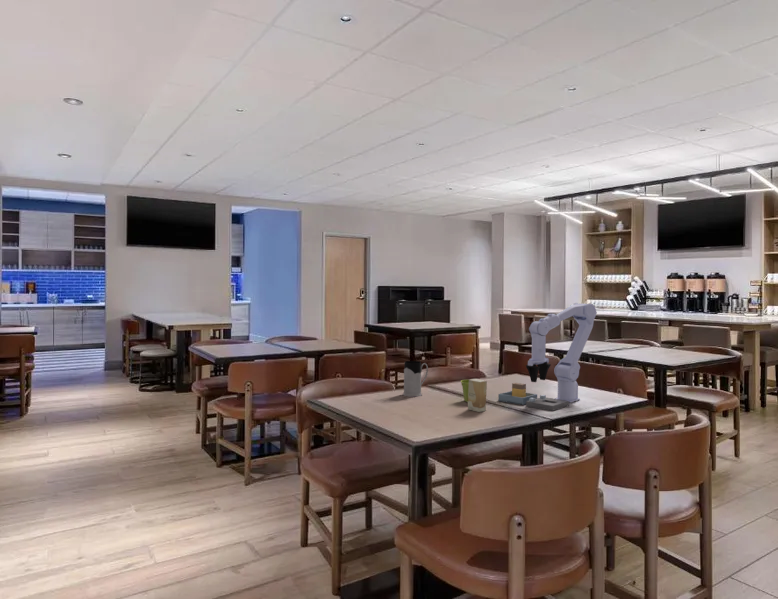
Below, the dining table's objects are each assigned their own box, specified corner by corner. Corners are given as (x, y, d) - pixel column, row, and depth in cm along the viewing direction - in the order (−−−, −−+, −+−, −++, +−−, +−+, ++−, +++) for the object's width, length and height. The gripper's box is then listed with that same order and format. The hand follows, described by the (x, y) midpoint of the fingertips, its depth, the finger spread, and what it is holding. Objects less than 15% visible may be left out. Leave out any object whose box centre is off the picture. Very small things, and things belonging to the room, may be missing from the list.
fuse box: (542, 401, 238) (542, 394, 238) (568, 405, 229) (568, 398, 229) (526, 406, 228) (526, 398, 228) (552, 410, 219) (552, 402, 219)
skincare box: (467, 409, 220) (467, 379, 220) (474, 408, 223) (474, 378, 223) (479, 412, 215) (479, 381, 215) (486, 410, 218) (487, 380, 218)
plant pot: (472, 404, 230) (472, 383, 230) (455, 400, 238) (456, 380, 238) (486, 401, 236) (486, 381, 236) (470, 398, 244) (470, 378, 243)
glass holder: (398, 394, 251) (399, 361, 250) (420, 390, 260) (420, 359, 260) (412, 397, 244) (412, 363, 244) (434, 393, 254) (434, 361, 253)
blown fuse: (515, 398, 241) (515, 382, 240) (525, 400, 237) (525, 384, 237) (511, 399, 238) (512, 383, 238) (522, 401, 235) (522, 384, 235)
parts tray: (512, 397, 247) (513, 390, 247) (537, 401, 238) (537, 394, 238) (498, 400, 238) (498, 394, 238) (522, 405, 230) (523, 398, 230)
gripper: (538, 347, 242) (538, 377, 243) (521, 349, 232) (521, 381, 232) (553, 348, 237) (552, 379, 238) (536, 351, 227) (536, 383, 227)
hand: (538, 381), depth 235 cm, fingers open, 7 cm apart
